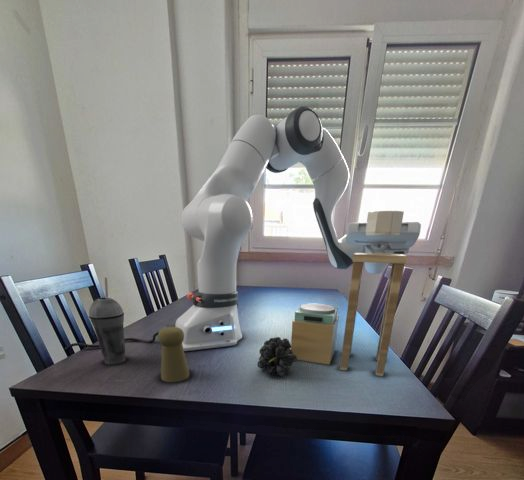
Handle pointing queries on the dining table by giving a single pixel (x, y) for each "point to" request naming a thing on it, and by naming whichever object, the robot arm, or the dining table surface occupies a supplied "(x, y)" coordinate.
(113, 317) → the beverage cup
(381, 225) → the cream faceted block
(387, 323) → the stand
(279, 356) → the fruit
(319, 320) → the scale
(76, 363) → the dining table surface
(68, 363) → the dining table surface
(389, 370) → the dining table surface
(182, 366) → the olive game pawn
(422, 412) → the dining table surface
